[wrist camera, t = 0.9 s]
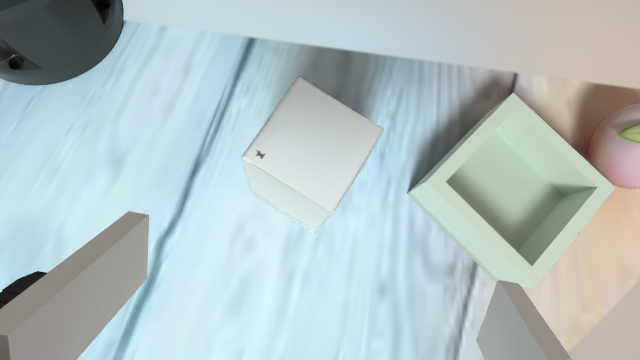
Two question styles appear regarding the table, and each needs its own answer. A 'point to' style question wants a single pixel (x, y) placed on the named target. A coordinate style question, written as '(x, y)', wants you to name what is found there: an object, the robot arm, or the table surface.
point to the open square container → (512, 193)
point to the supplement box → (308, 154)
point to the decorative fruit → (618, 147)
